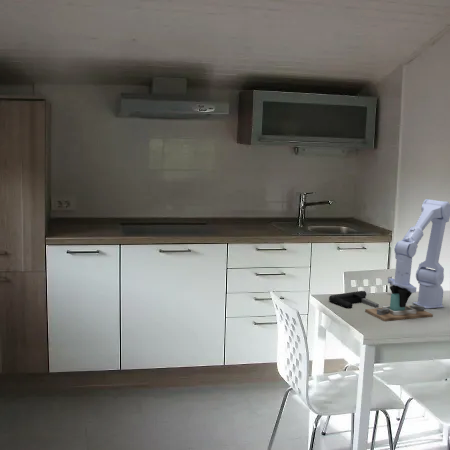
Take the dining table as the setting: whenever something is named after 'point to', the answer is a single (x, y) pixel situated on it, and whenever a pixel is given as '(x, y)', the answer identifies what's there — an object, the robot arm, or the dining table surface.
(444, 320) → the dining table surface
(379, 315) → the board
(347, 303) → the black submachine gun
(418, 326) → the dining table surface
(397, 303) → the block
